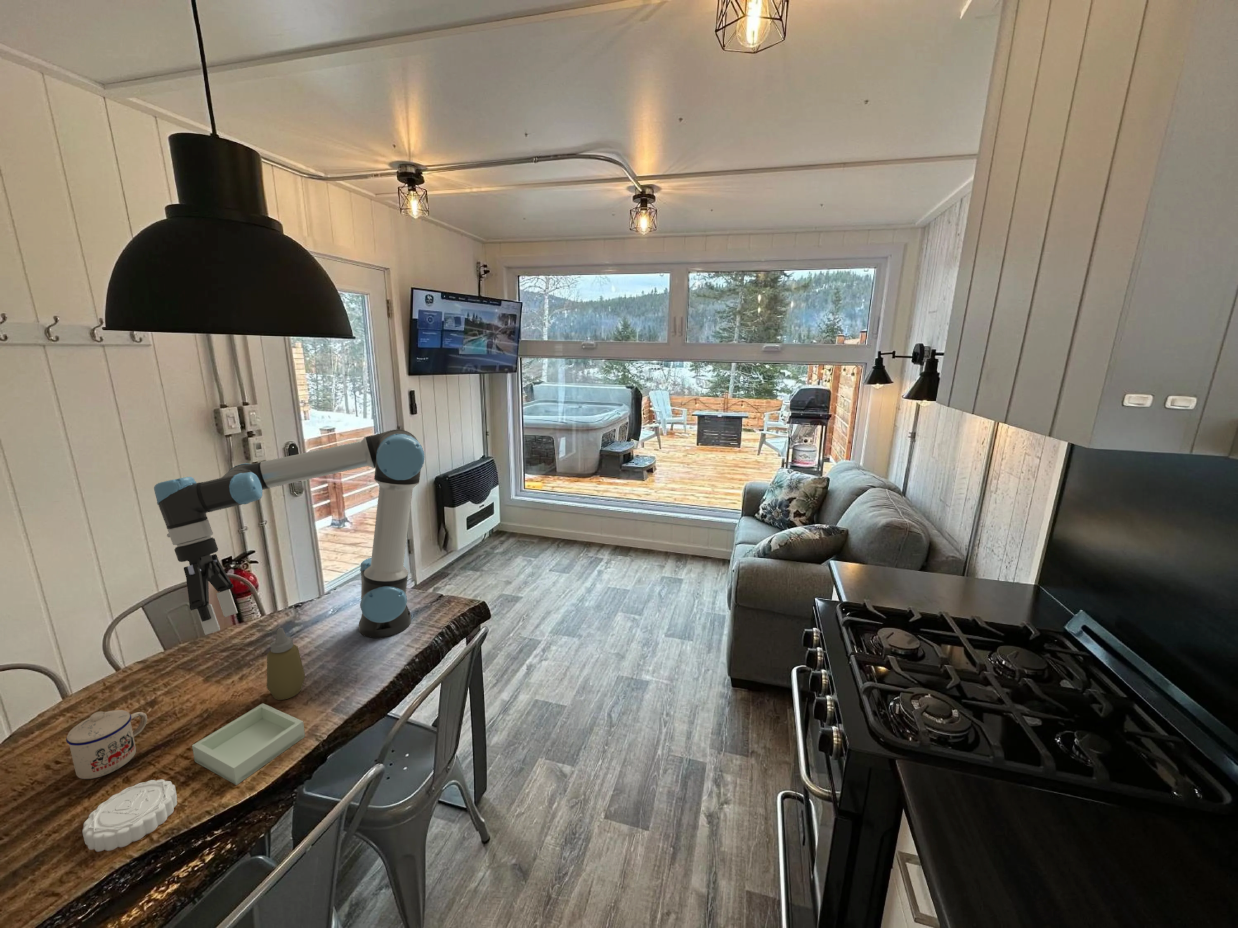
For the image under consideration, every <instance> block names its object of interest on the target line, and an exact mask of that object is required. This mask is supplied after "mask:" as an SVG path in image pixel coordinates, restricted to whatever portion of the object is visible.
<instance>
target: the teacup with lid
mask: <svg viewBox="0 0 1238 928" xmlns="http://www.w3.org/2000/svg"><path fill="white" fill-rule="evenodd" d="M137 717H140V722H139V724H138V726H137V728H136V729H135V730H133V727H132V723H131V721H133V719H135V718H137ZM147 721H148V716H147V714H146V713H145V712H142V711H137V712H133V713H132V714H130V712H129V711H127V710H123V709H116V710H115V709H114V710H108V711H99V710H98V711H96V712H94V713H92V714H91V715H90V716H89V717H88V718H86V719H85V720H82V721H81V722H79V723H78V724H76V725H75V726H73V727H72V729H70V730H69V732H68V733H67V736H66V743H67V744H68V746H69V749H70V753H71V758H72V759H71V760H72V762H73V768H74V771H75V775H76V777H77V778H79V779H82V780H92V779H97V778H100V777H103V776H106V775H109V774H111V773H113V772H115V771H117V770H119V769H120V768H122V767H124V766H125V765H126V764H128V763H129V762H131V760H132V759H133V758H134V756H135V754H136V752H137V747H136V742H135V737H136V736H138V735H139V734H140V733H141V732H143V731H144V729H145V727H146V725H147Z"/></svg>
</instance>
